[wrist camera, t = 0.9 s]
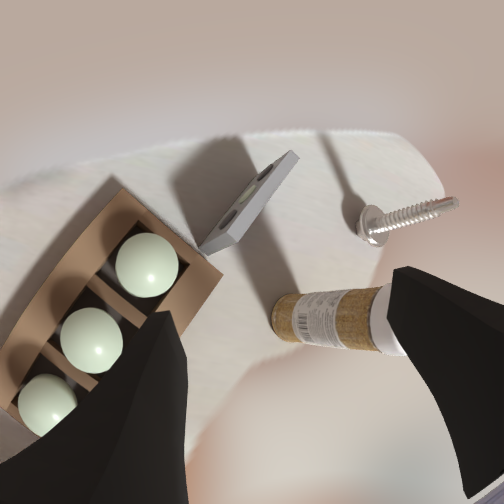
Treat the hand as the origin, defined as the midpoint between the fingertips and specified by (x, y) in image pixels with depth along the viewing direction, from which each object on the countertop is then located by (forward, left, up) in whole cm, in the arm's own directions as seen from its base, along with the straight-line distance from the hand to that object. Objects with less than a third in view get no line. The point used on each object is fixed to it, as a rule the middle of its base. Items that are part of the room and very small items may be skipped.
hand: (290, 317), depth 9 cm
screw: (+20, -12, -16) cm, 28 cm away
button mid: (-5, +4, -13) cm, 15 cm away
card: (+10, +1, -15) cm, 18 cm away
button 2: (-11, +4, -13) cm, 18 cm away
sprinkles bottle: (+6, -9, -16) cm, 19 cm away
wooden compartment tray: (-5, +4, -15) cm, 17 cm away
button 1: (+1, +4, -13) cm, 14 cm away
